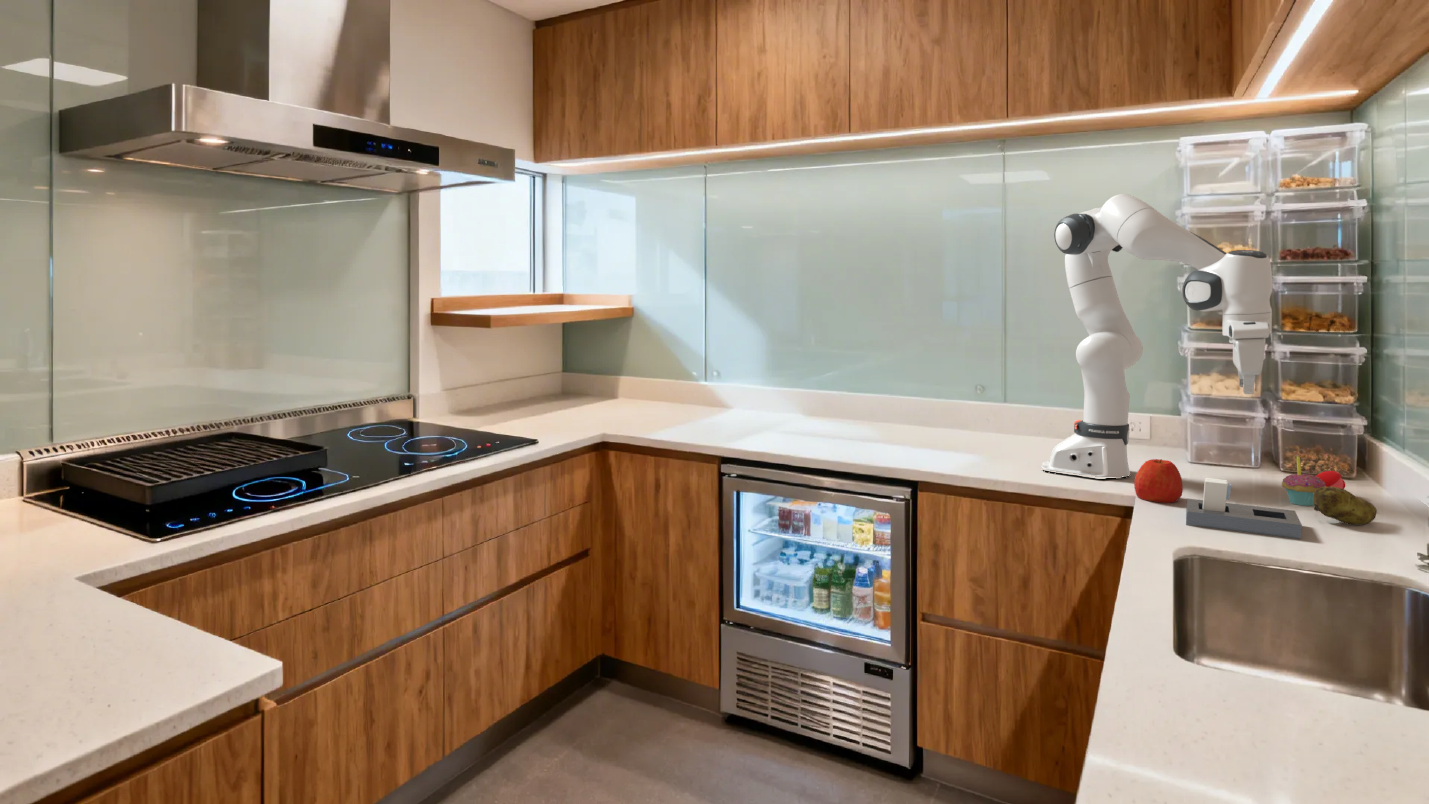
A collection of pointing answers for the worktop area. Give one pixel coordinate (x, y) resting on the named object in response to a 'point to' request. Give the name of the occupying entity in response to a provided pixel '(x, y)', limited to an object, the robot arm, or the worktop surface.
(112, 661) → the worktop surface
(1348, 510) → the potato
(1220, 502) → the plug
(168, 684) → the worktop surface
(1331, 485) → the cap
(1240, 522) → the panel
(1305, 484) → the cupcake
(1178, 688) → the worktop surface
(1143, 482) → the apple
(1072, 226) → the robot arm
